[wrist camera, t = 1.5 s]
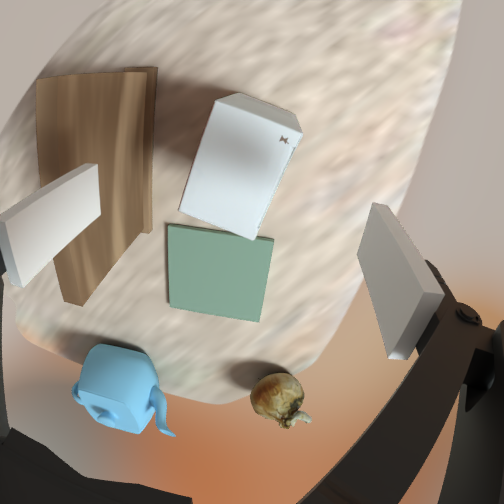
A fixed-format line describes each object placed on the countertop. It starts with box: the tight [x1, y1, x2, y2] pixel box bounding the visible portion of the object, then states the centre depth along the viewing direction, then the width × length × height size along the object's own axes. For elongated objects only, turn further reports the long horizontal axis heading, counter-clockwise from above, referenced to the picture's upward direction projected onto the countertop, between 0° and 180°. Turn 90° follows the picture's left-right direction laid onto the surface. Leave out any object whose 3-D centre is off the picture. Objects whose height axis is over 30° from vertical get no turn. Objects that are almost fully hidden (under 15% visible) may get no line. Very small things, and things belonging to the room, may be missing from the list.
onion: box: [250, 373, 312, 429], centre depth 40 cm, size 8×8×8 cm
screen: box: [36, 67, 158, 307], centre depth 23 cm, size 3×17×14 cm, turn 173°
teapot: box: [72, 344, 175, 437], centre depth 41 cm, size 12×18×12 cm
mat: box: [168, 224, 274, 322], centre depth 35 cm, size 11×11×1 cm
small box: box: [178, 93, 303, 241], centre depth 23 cm, size 8×6×10 cm
